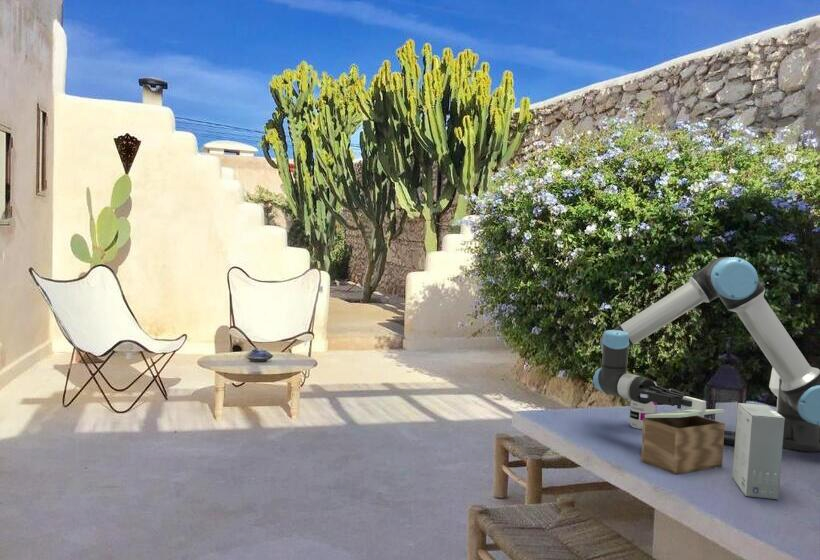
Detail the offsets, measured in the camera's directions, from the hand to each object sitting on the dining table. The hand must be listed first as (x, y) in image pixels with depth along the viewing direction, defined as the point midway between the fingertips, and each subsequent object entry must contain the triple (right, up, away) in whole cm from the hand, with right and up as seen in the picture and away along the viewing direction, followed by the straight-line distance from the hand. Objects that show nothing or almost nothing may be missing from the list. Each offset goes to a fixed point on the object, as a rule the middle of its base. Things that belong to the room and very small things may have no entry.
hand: (704, 406), depth 197 cm
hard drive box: (+8, -19, -11) cm, 23 cm away
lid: (-3, -3, +6) cm, 8 cm away
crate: (-3, -17, +7) cm, 19 cm away
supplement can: (-2, -15, +47) cm, 49 cm away
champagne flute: (+47, -16, +57) cm, 76 cm away
